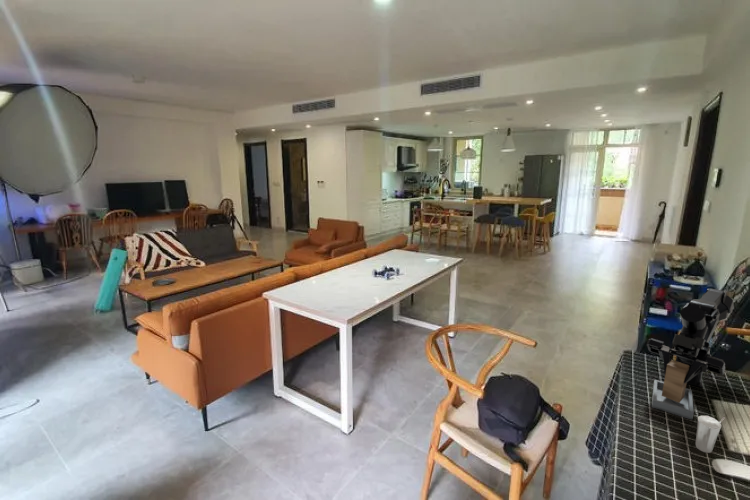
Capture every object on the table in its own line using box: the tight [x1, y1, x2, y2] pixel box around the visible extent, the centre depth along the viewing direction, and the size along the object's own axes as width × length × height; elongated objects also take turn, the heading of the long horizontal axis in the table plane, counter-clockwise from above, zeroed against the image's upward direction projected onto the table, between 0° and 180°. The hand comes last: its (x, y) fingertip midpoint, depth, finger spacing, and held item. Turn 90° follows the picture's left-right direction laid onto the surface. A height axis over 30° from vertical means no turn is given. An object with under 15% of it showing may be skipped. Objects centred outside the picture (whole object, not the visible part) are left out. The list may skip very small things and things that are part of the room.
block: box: [662, 359, 690, 403], centre depth 114 cm, size 4×4×11 cm
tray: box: [651, 379, 694, 421], centre depth 116 cm, size 14×10×2 cm
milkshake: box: [695, 415, 726, 454], centre depth 96 cm, size 4×5×10 cm
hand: (674, 379), depth 113 cm, fingers closed on block, 4 cm apart
